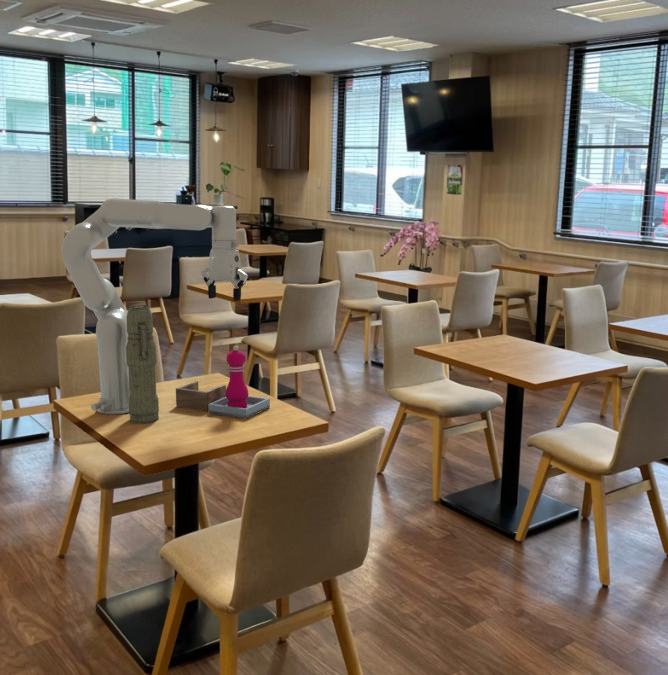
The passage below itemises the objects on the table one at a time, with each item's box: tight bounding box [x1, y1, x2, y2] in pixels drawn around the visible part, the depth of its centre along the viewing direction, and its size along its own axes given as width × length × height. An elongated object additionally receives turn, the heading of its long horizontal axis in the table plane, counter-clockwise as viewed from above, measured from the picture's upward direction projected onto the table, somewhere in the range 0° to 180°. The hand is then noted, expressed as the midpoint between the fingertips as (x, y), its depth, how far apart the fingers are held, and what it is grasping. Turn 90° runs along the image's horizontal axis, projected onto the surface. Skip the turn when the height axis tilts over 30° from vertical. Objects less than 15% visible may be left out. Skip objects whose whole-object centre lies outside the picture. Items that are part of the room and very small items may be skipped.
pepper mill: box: [226, 345, 249, 408], centre depth 254 cm, size 7×7×20 cm
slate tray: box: [208, 395, 271, 420], centre depth 256 cm, size 14×14×3 cm
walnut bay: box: [175, 380, 227, 412], centre depth 262 cm, size 11×12×6 cm
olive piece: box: [126, 304, 160, 425], centre depth 243 cm, size 9×12×35 cm
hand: (224, 299), depth 257 cm, fingers open, 9 cm apart
